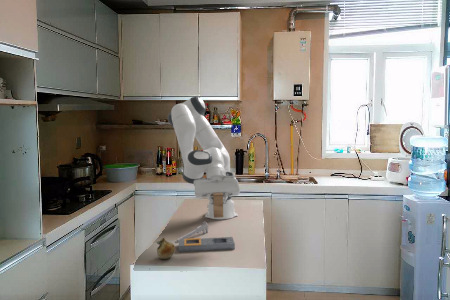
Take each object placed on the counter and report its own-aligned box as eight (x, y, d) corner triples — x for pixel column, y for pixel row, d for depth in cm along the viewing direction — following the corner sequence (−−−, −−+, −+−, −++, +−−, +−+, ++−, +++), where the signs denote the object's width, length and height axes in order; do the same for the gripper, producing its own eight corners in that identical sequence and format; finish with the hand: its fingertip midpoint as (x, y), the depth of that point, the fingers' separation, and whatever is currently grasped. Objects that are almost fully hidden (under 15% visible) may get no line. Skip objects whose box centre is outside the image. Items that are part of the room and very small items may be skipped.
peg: (213, 215, 168) (213, 193, 167) (222, 215, 168) (222, 192, 167) (214, 217, 164) (213, 194, 163) (223, 217, 164) (222, 194, 163)
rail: (179, 245, 170) (179, 238, 170) (232, 242, 172) (232, 236, 172) (178, 251, 161) (178, 245, 161) (234, 249, 163) (234, 242, 163)
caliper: (206, 232, 189) (206, 220, 188) (208, 233, 188) (207, 220, 187) (174, 243, 174) (174, 229, 173) (176, 243, 173) (175, 230, 172)
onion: (156, 262, 149) (155, 242, 149) (156, 255, 157) (155, 236, 157) (175, 261, 151) (175, 241, 150) (174, 254, 159) (174, 235, 158)
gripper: (193, 174, 170) (194, 200, 161) (238, 172, 172) (241, 198, 163) (193, 182, 175) (194, 208, 166) (237, 181, 177) (240, 206, 168)
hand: (218, 203), depth 165 cm, fingers closed on peg, 4 cm apart
